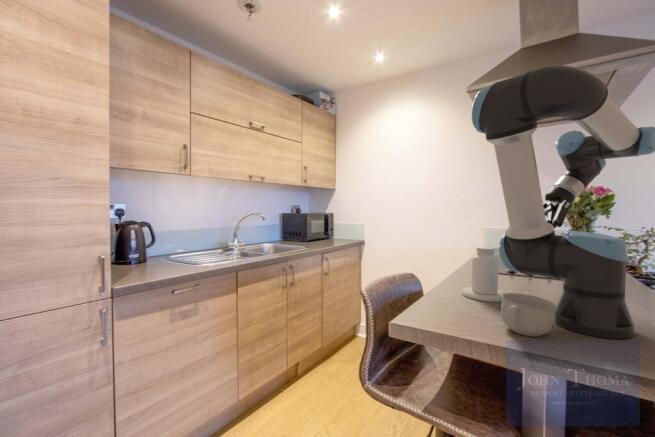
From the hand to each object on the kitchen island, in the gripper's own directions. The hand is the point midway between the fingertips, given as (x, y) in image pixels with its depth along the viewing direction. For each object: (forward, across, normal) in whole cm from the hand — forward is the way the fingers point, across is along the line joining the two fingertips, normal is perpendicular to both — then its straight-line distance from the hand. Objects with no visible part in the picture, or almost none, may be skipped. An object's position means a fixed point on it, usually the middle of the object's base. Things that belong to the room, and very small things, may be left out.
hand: (520, 240), depth 103 cm
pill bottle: (+21, +1, -3) cm, 21 cm away
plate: (+22, +1, -4) cm, 22 cm away
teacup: (+27, -30, 0) cm, 40 cm away
